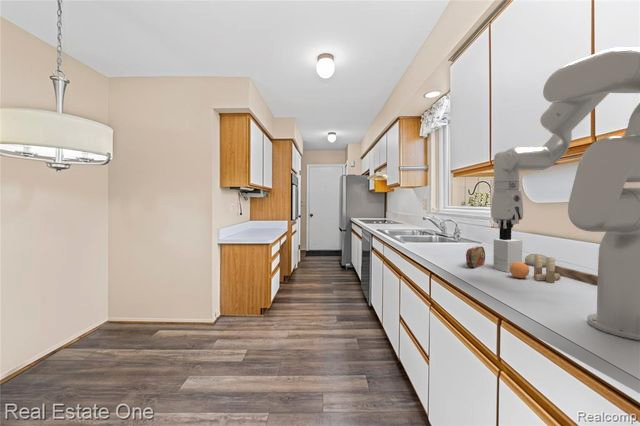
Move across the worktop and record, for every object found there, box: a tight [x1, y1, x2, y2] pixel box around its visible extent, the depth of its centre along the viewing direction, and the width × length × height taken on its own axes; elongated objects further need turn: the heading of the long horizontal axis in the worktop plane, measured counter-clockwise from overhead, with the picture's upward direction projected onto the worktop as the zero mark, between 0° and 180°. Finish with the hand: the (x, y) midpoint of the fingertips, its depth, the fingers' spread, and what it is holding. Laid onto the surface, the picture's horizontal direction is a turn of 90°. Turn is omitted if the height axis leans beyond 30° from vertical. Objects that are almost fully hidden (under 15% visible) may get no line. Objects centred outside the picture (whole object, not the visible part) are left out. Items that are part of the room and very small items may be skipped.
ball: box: [509, 261, 530, 279], centre depth 108 cm, size 6×6×6 cm
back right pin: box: [545, 256, 556, 284], centre depth 102 cm, size 2×2×8 cm
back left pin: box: [533, 254, 543, 276], centre depth 107 cm, size 2×2×8 cm
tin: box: [465, 246, 486, 269], centre depth 128 cm, size 15×3×8 cm, turn 131°
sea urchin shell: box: [524, 253, 548, 268], centre depth 129 cm, size 9×8×8 cm
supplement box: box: [493, 238, 523, 273], centre depth 120 cm, size 7×7×13 cm
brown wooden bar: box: [555, 264, 598, 286], centre depth 106 cm, size 20×2×3 cm, turn 6°
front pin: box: [533, 273, 562, 282], centre depth 105 cm, size 2×2×8 cm
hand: (505, 239), depth 103 cm, fingers closed
